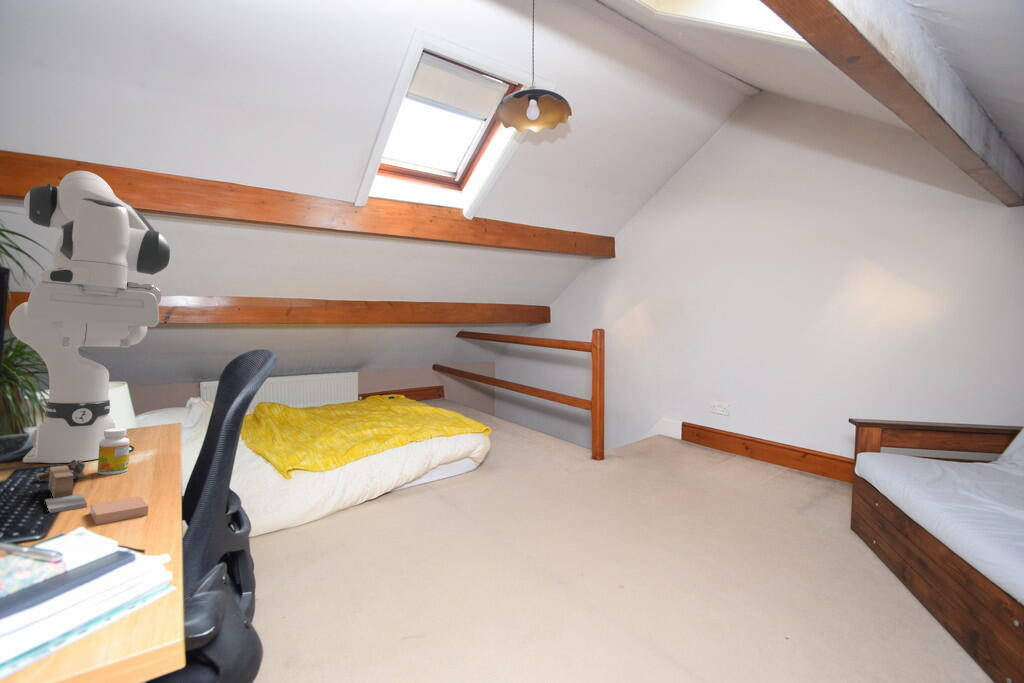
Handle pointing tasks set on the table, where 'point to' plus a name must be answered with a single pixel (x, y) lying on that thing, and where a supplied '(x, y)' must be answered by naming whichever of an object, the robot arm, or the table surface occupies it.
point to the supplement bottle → (113, 452)
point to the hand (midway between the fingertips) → (95, 346)
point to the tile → (118, 510)
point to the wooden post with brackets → (73, 464)
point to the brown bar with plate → (63, 491)
